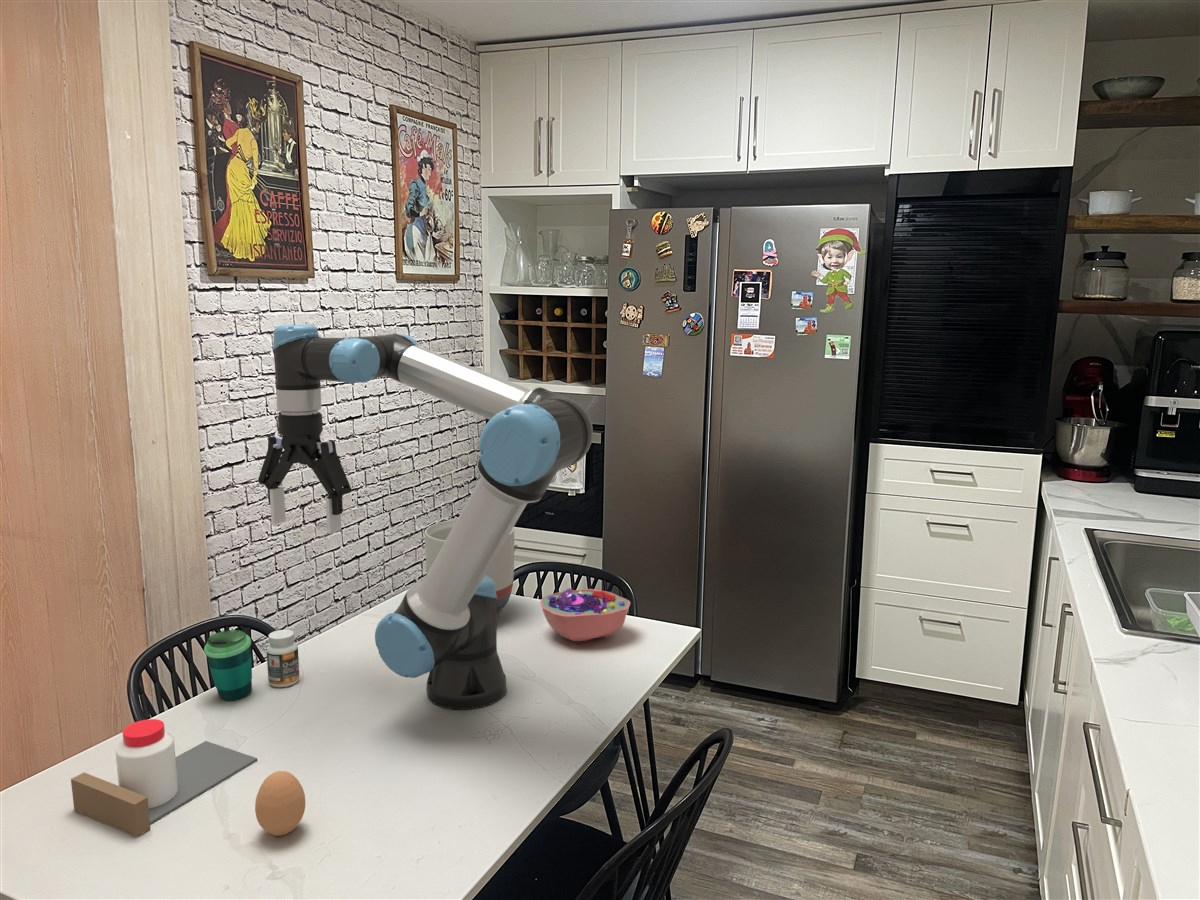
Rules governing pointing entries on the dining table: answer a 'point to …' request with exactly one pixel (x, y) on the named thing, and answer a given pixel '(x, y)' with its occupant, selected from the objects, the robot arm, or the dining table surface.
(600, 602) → the cell model
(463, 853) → the dining table surface
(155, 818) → the track
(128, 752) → the pill bottle
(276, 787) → the egg
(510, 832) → the dining table surface
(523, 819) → the dining table surface
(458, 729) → the dining table surface
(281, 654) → the pill bottle
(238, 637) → the cup
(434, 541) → the planter
